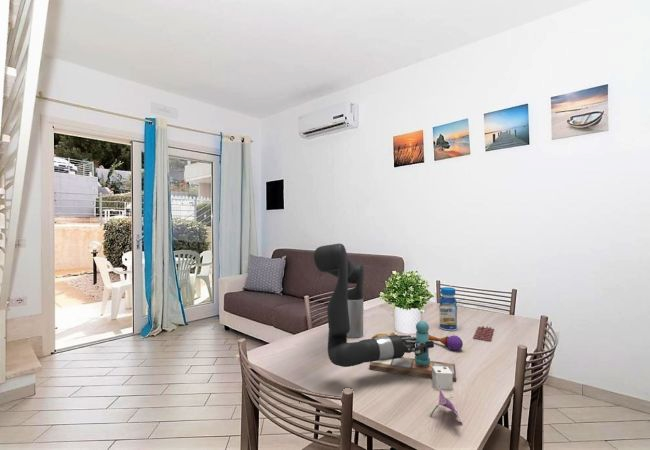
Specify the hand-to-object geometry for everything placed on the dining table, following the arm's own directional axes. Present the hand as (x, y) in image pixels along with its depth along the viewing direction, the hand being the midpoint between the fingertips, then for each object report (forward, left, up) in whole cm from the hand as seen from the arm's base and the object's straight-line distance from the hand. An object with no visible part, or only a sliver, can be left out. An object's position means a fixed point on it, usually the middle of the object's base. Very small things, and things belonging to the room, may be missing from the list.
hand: (428, 341), depth 114 cm
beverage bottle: (+7, +51, -10) cm, 53 cm away
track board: (-6, -2, -10) cm, 11 cm away
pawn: (-2, -2, -7) cm, 7 cm away
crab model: (-19, +17, -10) cm, 28 cm away
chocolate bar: (+23, +48, -10) cm, 54 cm away
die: (+4, -11, -10) cm, 15 cm away
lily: (+5, -29, -10) cm, 31 cm away
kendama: (+3, +26, -10) cm, 28 cm away
